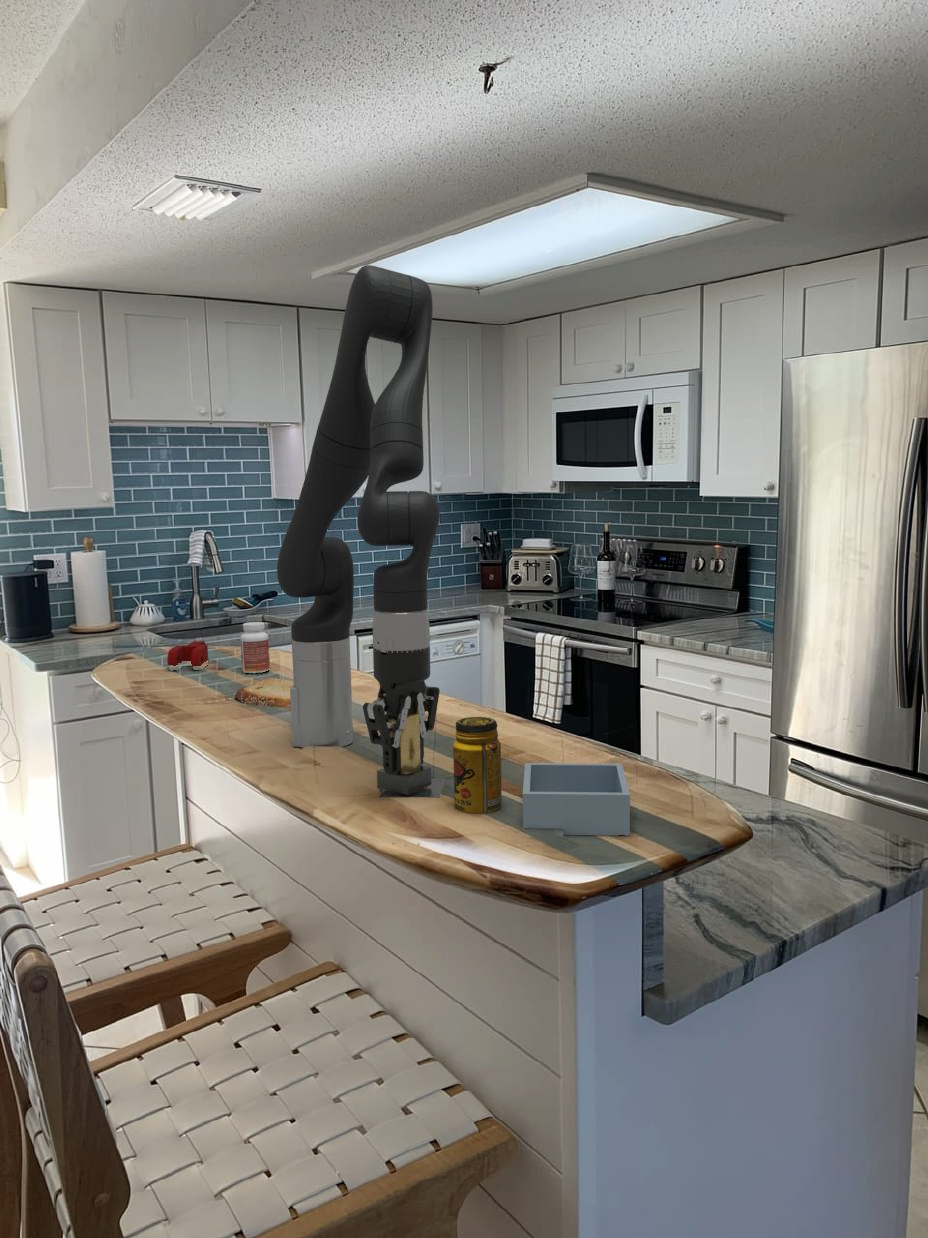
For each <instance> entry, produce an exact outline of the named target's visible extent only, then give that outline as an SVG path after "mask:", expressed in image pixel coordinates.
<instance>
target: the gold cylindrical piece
mask: <svg viewBox="0 0 928 1238" xmlns="http://www.w3.org/2000/svg"><path fill="white" fill-rule="evenodd" d="M387 720H388V722H389V723H396V722H397V721H398V720H394V719H389V718H388V717H387ZM392 734H393V729H391V728H390V729H389V735H390V737H391V738H392ZM398 747H400V765H401V772H400V773H399V774H397V775H392V774H387V773H386V772H385V770H384V767H383V768H380V769H378V770H376V784H377V785H376V788H377V789H380V790H388V791H392V792H397V793H402V794H406V795H409V794H411V793H413V792H416V791H418V790H420V789H422V788H425V787H427V786H429V785H431V779H432V767H431V766H428V765H427V766H426V765H423V764H421V765H420V714H418V713H414V714H411V715H408V716H407V719H406V725H405V729H404V730H403V731H402V732H401V737H400V743H399V746H398Z"/></svg>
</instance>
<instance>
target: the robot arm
mask: <svg viewBox="0 0 928 1238" xmlns="http://www.w3.org/2000/svg"><path fill="white" fill-rule="evenodd" d="M350 286H351V287H350V289H349V293H348V297H347V301H346V305H345V311H344V315H343V322H342V328H341V332H340V336H339V337H340V338H339V343H338V348H337V353H336V359H335V363H334V367H333V371H332V377H331V380H330V384H329V388H328V390H327V394H326V398H325V402H324V405H323V409H322V412H321V414H320V419H319V421H318V425H317V429H316V433H315V437H314V441H313V445H312V448H311V454H310V458H309V462H308V467H307V470H306V474H305V477H304V479H303V484H302V488H301V490H300V494H299V497H298V500H297V503H296V506H295V508H294V512H293V514H292V517H291V520H290V523H289V525H288V528H287V531H286V533H285V535H284V538H283V540H282V543H281V545H280V546H281V547H280V550H279V553H278V554H279V555H278V558H277V566H276V567H277V568H276V570H277V571H276V573H277V574H276V575H277V581H278V585H279V586H280V587H279V588H280V589H281V591H282V592H283V593H284V594H285V595H287V596H288V597H291V598H297V599H298V598H300V599H301V598H302V599H303V598H311V597H312V598H313V597H314V602H313V604H312V605H311V607H310V608H309V609H308V610H307V611H306V612H305V613H303V614H302V615H300V616H299V617H297V618H295V620H293V621H292V623H291V627H290V632H291V633H290V634H291V636H290V637H291V653H292V654H291V655H292V677H293V680H292V681H293V682H294V686H293V687H291V689H290V699H291V707H290V716H291V717H290V719H291V722H290V723H291V736H292V737H291V739H292V740H291V744H292V747H299V748H303V749H304V748H305V747H308V748H309V747H311V748H312V747H313V748H314V747H321V748H322V747H323V748H326V747H328V748H329V747H330V748H332V747H335V748H338V747H340V748H341V747H346V746H348V745H350V744H352V743H353V742H354V726H353V725H354V723H353V696H352V695H353V694H352V693H353V691H352V672H351V671H352V667H351V666H352V665H351V641H350V638H351V637H350V636H351V634H350V628H351V624H352V622H353V621H352V620H353V617H354V589H355V588H354V585H355V583H354V582H355V575H354V574H355V573H354V571H355V570H354V562H353V555H352V553H351V550H350V548H349V545H348V544H347V543H346V542H345V541H344V540H343V539H342V538H341V537H340V538H339V537H336V536H326V535H327V532H328V530H329V528H330V526H331V524H332V522H333V520H334V519H335V518H336V516H337V515H338V513H339V512H340V511H341V510H342V509H343V508H344V507H345V506H346V505H347V504H348V502H349V501H350V500H351V499H352V498H353V497H354V496H355V494H356V493H358V491H359V490H360V488H361V487H362V486H363V484H364V483H365V482H366V481H367V483H366V485H365V489H364V493H363V495H362V497H361V501H360V504H359V508H358V512H357V518H356V519H357V522H356V524H357V528H358V533H359V535H360V537H361V538H362V539H363V541H364V542H365V543H366V544H368V545H370V546H375V547H388V546H390V547H391V546H393V547H395V546H400V547H401V546H404V547H405V546H412V551H411V552H410V554H409V555H408V556H407V557H406V558H405V559H403V560H399V561H396V562H391V563H387V564H382V565H380V566H378V567H377V568H376V569H374V573H373V578H372V579H373V580H372V581H373V582H372V583H373V610H374V611H373V621H372V656H373V657H372V658H373V661H372V664H373V677H374V679H375V680H376V681H377V682H378V684H379V689H378V692H377V698H376V699H375V700H373V702H364V704H363V705H362V711H363V715H364V719H365V724H366V728H367V732H368V736H369V740H370V743H371V744H372V745H379V746H381V748H382V762H383V763H382V766H383V768H384V770H385V772H386V773H387V774H392V775H397V774H399V773H400V772H401V765H400V747H398V746H399V743H400V737H401V732H402V731H403V730H404V729H405V725H406V719H407V716H408V715H411V714H414V713H418V714H420V765H423V764H424V758H425V752H424V751H425V741H424V740H425V738H426V736H427V733H428V731H433V730H434V729H435V723H436V716H437V710H438V704H439V698H440V690H441V689H440V687H438V686H431V685H430V686H429V685H427V684H426V682H425V681H426V680H428V679H429V678H430V677H431V641H430V640H431V639H430V638H431V633H430V628H431V627H430V620H429V614H428V573H429V563H430V559H431V554H432V549H433V546H434V543H435V539H436V535H437V532H438V528H439V524H440V516H441V514H440V513H441V512H440V511H441V510H440V507H439V504H438V501H437V500H436V498H435V497H434V496H433V495H432V494H431V493H430V492H427V491H425V490H409V491H407V490H405V491H403V490H401V491H400V490H398V491H397V490H396V491H387V490H389V488H391V487H393V486H395V485H397V484H401V483H406V482H408V481H411V480H414V479H416V478H418V477H419V476H420V475H421V474H422V473H423V471H424V464H425V463H424V462H425V461H424V432H423V431H424V430H423V428H424V427H423V408H424V407H423V402H424V392H425V386H426V378H427V377H426V376H427V371H428V363H429V362H428V361H429V351H430V344H431V343H430V341H431V332H432V322H433V309H434V308H433V307H434V306H433V296H432V291H431V288H430V286H429V284H428V283H427V281H425V280H423V279H421V278H420V277H415V276H414V275H410V274H405V273H402V272H397V271H394V270H392V269H387V268H384V267H379V266H376V265H371V264H367V265H363V266H360V268H359V269H358V271H356V274H355V275H354V278H353V280H352V283H351V285H350ZM370 338H373V339H378V340H381V341H386V342H390V343H395V344H399V345H400V346H401V359H400V364H399V366H398V369H397V370H396V372H395V373H394V375H393V377H392V378H391V379H390V381H389V382H388V383H387V385H386V386H385V388H384V389H383V390H382V392H381V394H380V395H379V397H378V398H377V400H376V402H375V400H374V397H373V394H372V391H371V388H370V384H369V381H368V380H369V379H368V375H367V370H366V369H367V368H366V355H367V348H368V343H369V340H370ZM426 712H427V716H426ZM387 717H388V718H389V719H394V720H398V721H397V722H396V723H389V722H388V720H387ZM390 728H391V729H393V734H392V738H391V737H390V735H389V729H390Z"/></svg>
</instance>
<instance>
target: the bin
mask: <svg viewBox="0 0 928 1238" xmlns="http://www.w3.org/2000/svg"><path fill="white" fill-rule="evenodd" d="M522 785H523V786H522V829H550V830H551V829H560V830H561V829H562V830H563V836H564V835H565V836H568V835H569V836H618V835H625V837H626V836H628V837H629V836H630V833H631V831H630V830H631V825H630V823H631V794H630V789H629V786H628V780H627V778H626V774H625V770H624V765H623V764H622V763H580V762H579V763H578V762H577V763H573V762H572V763H569V762H566V763H563V762H561V763H560V762H559V763H558V762H555V763H554V762H525V763H524V773H523V784H522Z"/></svg>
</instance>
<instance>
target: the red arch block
mask: <svg viewBox="0 0 928 1238" xmlns="http://www.w3.org/2000/svg"><path fill="white" fill-rule="evenodd" d="M208 649H209V648H208V644H206V642H205V641H204V640H197V641H195V640H193V641H192V642H190V643H188V644H186V645H178V644H177V645H175V646H173V647H171V649H169V650H168V652H167V666H168V665H173V666H176V665H178V663H181V662H182V661H191V664H192V666H201V665H202V664H203V663H204V662H206V661H207V660H208V661H209V650H208Z"/></svg>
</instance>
